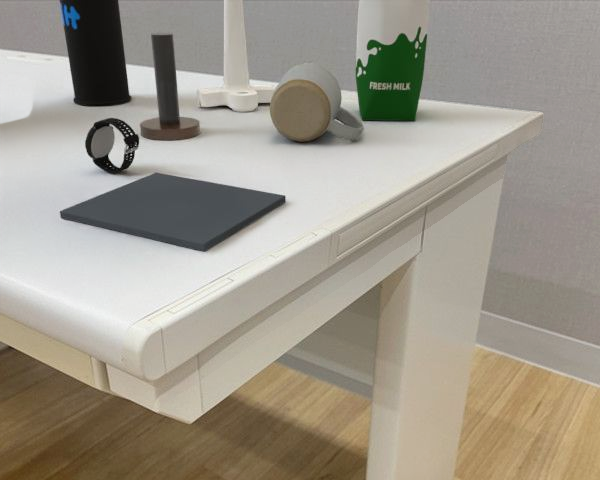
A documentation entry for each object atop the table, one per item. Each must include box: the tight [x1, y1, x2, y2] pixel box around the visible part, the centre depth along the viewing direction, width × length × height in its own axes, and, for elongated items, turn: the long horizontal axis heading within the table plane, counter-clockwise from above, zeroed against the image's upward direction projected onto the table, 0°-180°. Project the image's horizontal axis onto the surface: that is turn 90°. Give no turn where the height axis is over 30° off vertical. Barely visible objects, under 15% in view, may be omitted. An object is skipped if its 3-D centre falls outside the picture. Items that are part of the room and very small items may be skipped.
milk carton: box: [355, 0, 431, 122], centre depth 81 cm, size 9×9×20 cm
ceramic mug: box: [269, 62, 365, 143], centre depth 73 cm, size 11×8×8 cm
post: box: [139, 32, 201, 141], centre depth 73 cm, size 7×7×11 cm
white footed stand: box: [196, 0, 277, 113], centre depth 85 cm, size 11×8×20 cm
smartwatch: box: [84, 117, 140, 175], centre depth 61 cm, size 4×5×5 cm
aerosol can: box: [59, 0, 132, 107], centre depth 88 cm, size 8×8×20 cm
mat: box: [59, 172, 287, 252], centre depth 52 cm, size 14×12×1 cm
